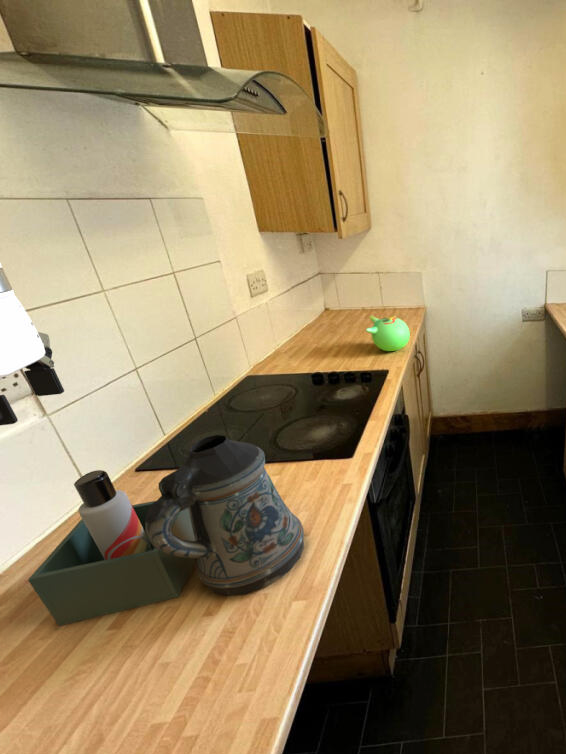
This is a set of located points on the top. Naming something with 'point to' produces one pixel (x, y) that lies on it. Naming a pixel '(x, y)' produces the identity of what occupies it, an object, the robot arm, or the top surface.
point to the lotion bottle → (110, 517)
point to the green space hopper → (389, 333)
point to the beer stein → (227, 518)
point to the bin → (109, 574)
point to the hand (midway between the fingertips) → (28, 408)
